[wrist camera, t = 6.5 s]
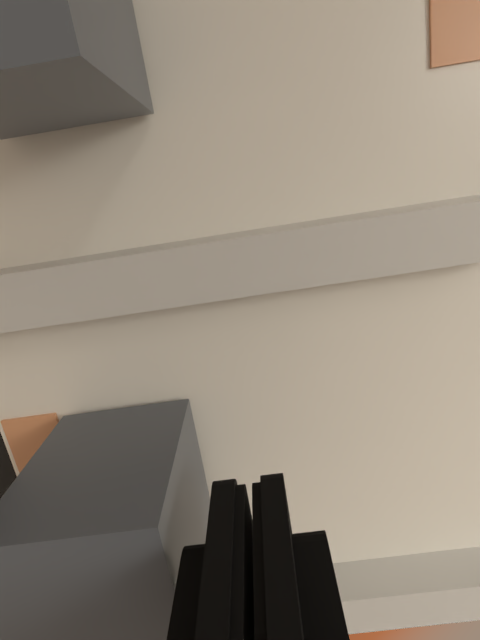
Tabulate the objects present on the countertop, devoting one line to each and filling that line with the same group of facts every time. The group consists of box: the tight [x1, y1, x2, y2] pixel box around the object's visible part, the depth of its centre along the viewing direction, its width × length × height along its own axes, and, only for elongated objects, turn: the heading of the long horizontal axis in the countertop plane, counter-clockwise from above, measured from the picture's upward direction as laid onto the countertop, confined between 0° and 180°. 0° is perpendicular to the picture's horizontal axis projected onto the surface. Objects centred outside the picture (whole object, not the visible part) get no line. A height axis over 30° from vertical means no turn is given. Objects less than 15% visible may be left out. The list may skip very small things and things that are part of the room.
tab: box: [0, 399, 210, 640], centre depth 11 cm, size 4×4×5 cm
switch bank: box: [0, 0, 480, 634], centre depth 13 cm, size 16×26×4 cm, turn 9°
